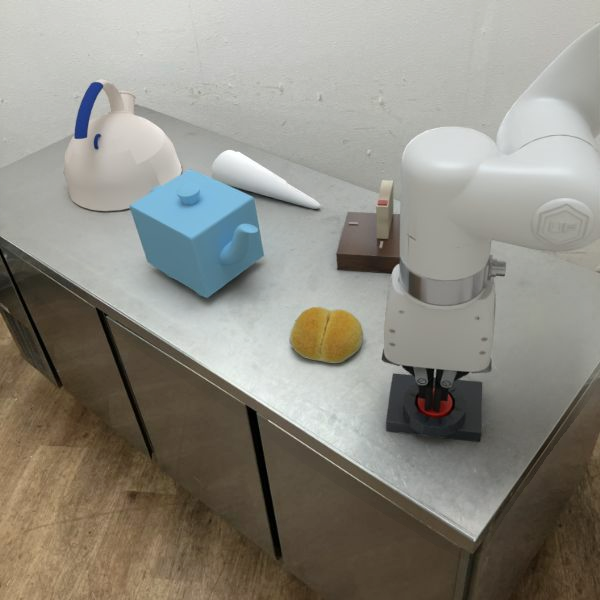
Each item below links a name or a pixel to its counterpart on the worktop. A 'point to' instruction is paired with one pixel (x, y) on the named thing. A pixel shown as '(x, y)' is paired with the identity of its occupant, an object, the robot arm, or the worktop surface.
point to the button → (444, 410)
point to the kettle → (116, 153)
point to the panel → (368, 244)
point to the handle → (384, 209)
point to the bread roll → (326, 335)
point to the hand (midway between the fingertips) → (432, 400)
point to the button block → (453, 426)
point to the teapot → (198, 231)
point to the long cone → (256, 179)
